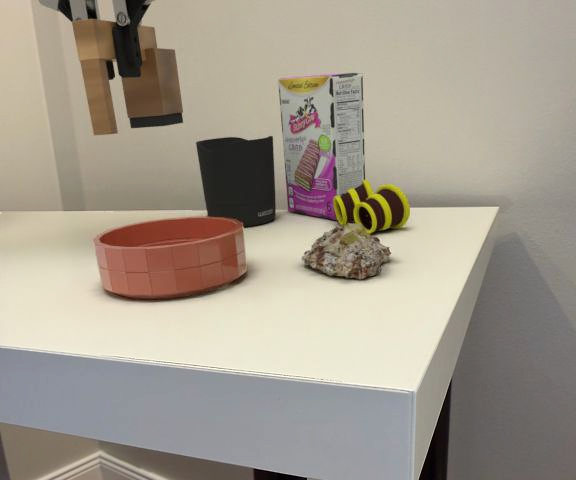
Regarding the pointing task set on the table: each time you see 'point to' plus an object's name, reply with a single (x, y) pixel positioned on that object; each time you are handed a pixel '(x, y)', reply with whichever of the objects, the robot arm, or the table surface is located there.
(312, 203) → the candy bar box
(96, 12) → the robot arm
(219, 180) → the pen holder
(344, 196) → the opera glasses
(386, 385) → the table surface
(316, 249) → the mineral rock
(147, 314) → the table surface
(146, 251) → the bowl
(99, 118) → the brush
